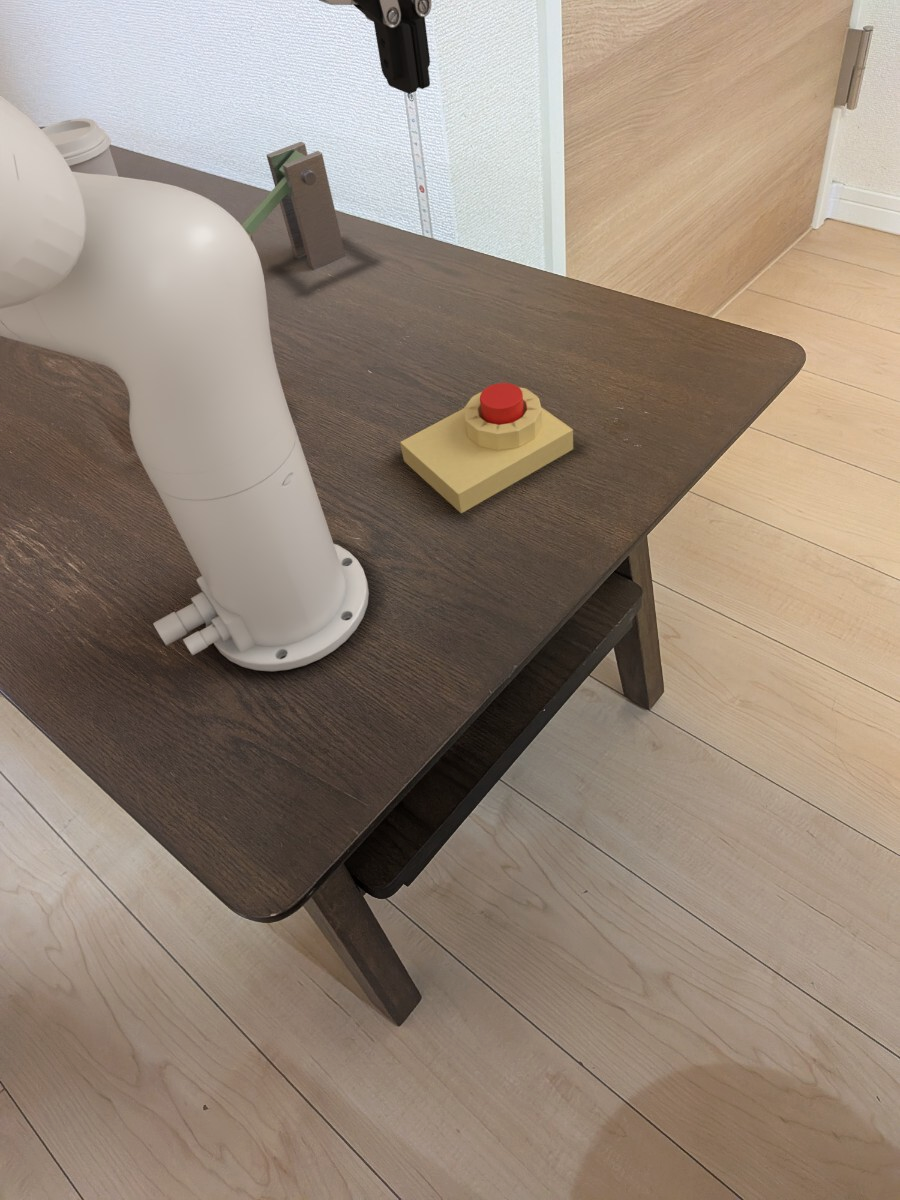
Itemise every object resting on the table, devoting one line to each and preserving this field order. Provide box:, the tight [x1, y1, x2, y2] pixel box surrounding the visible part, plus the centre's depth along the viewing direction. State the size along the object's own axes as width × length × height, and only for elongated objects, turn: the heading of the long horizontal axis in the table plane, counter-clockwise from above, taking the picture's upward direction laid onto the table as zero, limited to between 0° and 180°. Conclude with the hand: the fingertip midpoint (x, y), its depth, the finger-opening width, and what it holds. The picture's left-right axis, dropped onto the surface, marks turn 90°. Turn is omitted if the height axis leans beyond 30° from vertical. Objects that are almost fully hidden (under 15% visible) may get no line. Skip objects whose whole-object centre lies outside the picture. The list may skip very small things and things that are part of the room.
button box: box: [399, 386, 574, 514], centre depth 71 cm, size 12×9×4 cm
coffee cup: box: [40, 118, 120, 177], centre depth 102 cm, size 10×10×15 cm
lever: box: [240, 151, 305, 243], centre depth 91 cm, size 13×3×3 cm, turn 124°
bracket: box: [266, 141, 346, 271], centre depth 94 cm, size 9×8×13 cm
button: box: [480, 382, 524, 425], centre depth 70 cm, size 4×4×2 cm
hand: (408, 85), depth 57 cm, fingers closed
